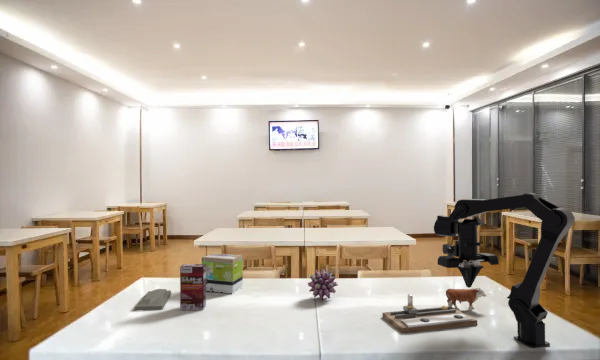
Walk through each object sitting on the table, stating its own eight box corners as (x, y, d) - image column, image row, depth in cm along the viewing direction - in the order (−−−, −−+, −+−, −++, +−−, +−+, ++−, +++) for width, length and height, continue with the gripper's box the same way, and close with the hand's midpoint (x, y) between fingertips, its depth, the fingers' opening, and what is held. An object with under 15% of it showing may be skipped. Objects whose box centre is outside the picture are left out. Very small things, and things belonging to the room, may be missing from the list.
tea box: (200, 291, 162) (200, 256, 162) (212, 285, 172) (212, 252, 172) (232, 294, 158) (232, 258, 158) (243, 287, 167) (243, 254, 167)
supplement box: (179, 310, 138) (179, 266, 138) (183, 306, 143) (183, 263, 143) (203, 310, 138) (203, 266, 138) (206, 305, 143) (206, 263, 143)
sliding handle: (417, 312, 126) (417, 296, 126) (409, 313, 125) (408, 297, 125) (411, 308, 130) (411, 292, 130) (403, 309, 129) (403, 293, 129)
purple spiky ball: (343, 301, 146) (343, 270, 147) (314, 305, 142) (314, 273, 142) (330, 293, 157) (329, 264, 157) (303, 297, 153) (302, 267, 153)
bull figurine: (487, 312, 133) (487, 288, 133) (446, 310, 136) (446, 287, 136) (484, 308, 137) (483, 285, 137) (444, 306, 140) (444, 283, 140)
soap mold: (133, 312, 138) (133, 303, 138) (147, 296, 158) (146, 288, 158) (162, 310, 140) (162, 301, 140) (172, 295, 160) (172, 286, 160)
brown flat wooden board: (477, 324, 122) (477, 315, 122) (402, 333, 116) (402, 323, 116) (450, 310, 135) (450, 302, 135) (382, 317, 129) (382, 308, 129)
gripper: (475, 233, 132) (476, 279, 132) (427, 236, 128) (428, 283, 128) (499, 238, 121) (500, 287, 121) (447, 241, 117) (448, 292, 117)
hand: (468, 287), depth 122 cm, fingers closed
